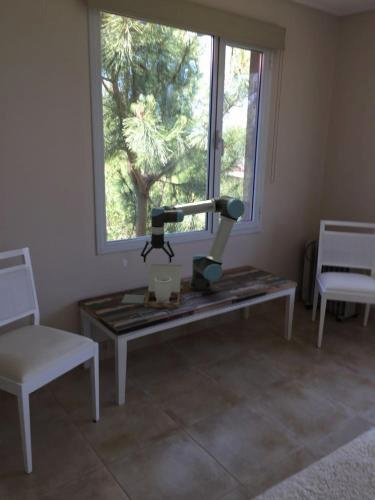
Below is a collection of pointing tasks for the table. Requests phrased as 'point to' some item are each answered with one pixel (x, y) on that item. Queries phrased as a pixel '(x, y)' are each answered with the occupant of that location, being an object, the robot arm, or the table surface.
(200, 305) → the table surface
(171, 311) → the table surface
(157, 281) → the jar
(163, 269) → the lid
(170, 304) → the cold frame
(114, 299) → the table surface
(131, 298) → the slate tile
